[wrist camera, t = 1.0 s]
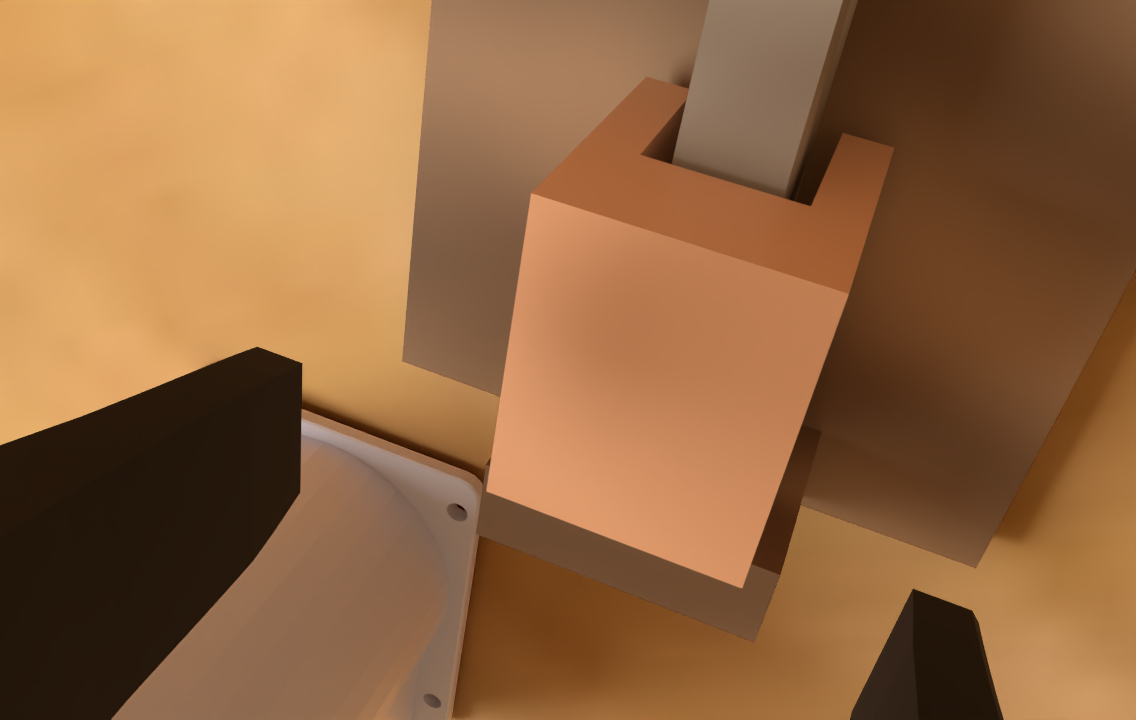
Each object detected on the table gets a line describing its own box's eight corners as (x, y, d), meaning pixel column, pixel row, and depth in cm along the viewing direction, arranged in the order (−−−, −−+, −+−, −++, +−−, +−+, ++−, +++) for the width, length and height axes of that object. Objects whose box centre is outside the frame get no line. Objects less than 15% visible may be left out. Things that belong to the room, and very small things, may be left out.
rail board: (978, 534, 21) (963, 734, 17) (423, 338, 23) (298, 472, 19) (1660, -765, 11) (2029, -1027, 7) (539, -876, 13) (320, -1119, 9)
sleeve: (802, 404, 19) (742, 588, 15) (593, 333, 20) (486, 491, 16) (894, 147, 16) (849, 294, 12) (646, 76, 17) (531, 193, 13)
